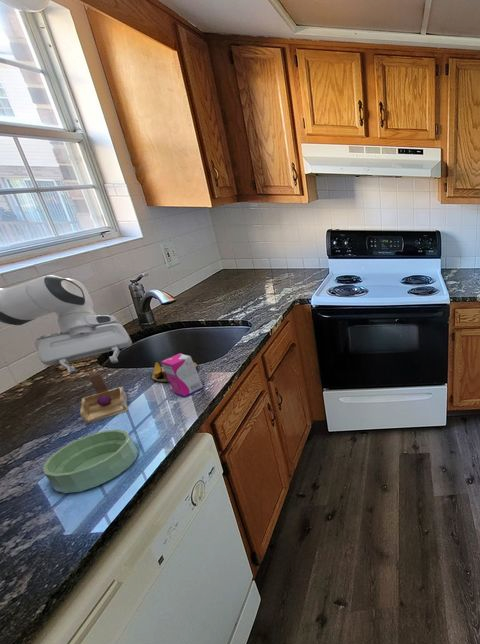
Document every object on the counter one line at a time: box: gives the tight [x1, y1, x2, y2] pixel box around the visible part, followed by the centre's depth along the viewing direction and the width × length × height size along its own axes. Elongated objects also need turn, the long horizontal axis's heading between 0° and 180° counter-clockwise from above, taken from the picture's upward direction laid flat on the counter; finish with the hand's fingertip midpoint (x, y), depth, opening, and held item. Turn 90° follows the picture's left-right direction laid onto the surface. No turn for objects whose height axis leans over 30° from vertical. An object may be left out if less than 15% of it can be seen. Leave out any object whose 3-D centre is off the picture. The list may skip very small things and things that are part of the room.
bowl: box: [42, 429, 139, 494], centre depth 82 cm, size 14×14×6 cm
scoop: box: [79, 371, 129, 425], centre depth 104 cm, size 12×9×9 cm
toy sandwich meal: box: [151, 361, 198, 383], centre depth 121 cm, size 12×14×5 cm
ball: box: [97, 395, 111, 406], centre depth 105 cm, size 3×3×3 cm
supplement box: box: [160, 353, 204, 398], centre depth 110 cm, size 6×6×12 cm
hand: (94, 367), depth 109 cm, fingers open, 8 cm apart
